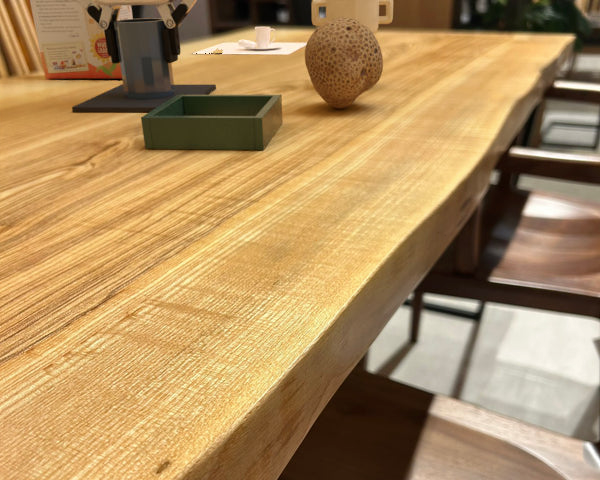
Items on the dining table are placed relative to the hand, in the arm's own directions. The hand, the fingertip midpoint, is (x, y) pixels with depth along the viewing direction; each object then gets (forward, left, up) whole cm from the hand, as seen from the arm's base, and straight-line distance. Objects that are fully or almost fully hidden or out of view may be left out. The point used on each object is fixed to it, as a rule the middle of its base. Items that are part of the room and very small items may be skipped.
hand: (145, 60), depth 82 cm
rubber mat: (0, 0, -5) cm, 5 cm away
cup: (0, 0, -4) cm, 4 cm away
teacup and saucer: (+3, +56, -5) cm, 56 cm away
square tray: (+14, -19, -5) cm, 24 cm away
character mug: (+26, +10, -5) cm, 28 cm away
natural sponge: (+26, -5, -5) cm, 27 cm away
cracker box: (-16, +19, -5) cm, 25 cm away
